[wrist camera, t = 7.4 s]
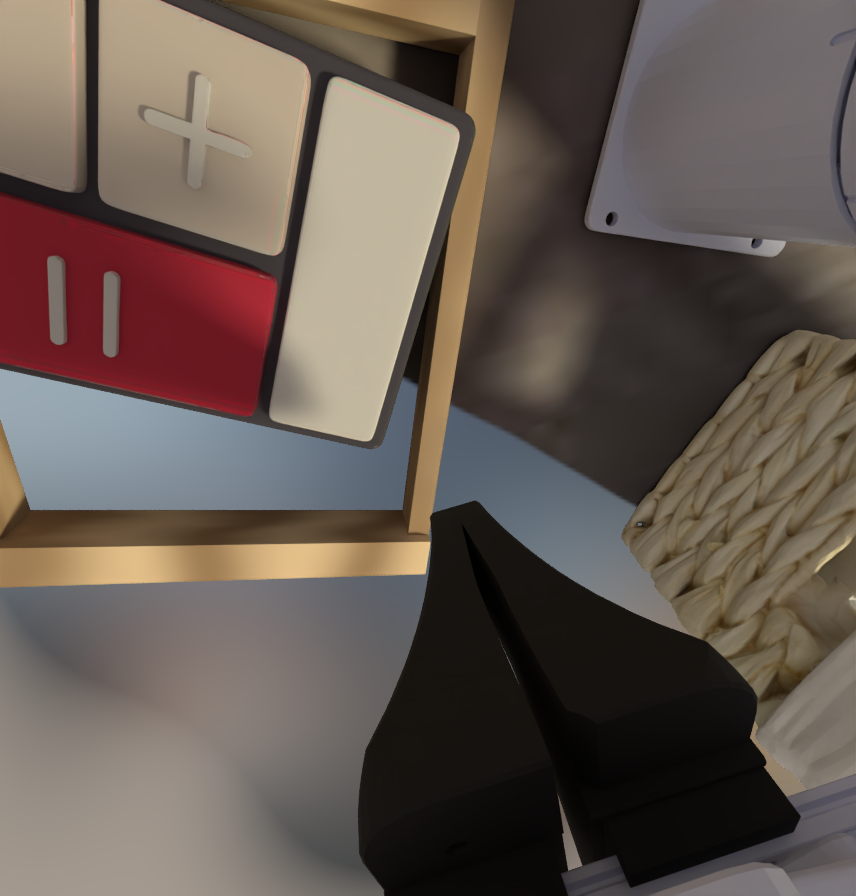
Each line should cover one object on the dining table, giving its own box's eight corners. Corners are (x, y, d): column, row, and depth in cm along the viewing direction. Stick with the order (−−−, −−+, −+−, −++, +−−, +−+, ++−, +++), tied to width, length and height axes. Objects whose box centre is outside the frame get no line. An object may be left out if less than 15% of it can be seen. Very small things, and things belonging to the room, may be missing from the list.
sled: (494, 22, 15) (522, -10, 12) (417, 540, 24) (425, 573, 22) (-244, -162, 11) (-394, -255, 8) (16, 546, 20) (-22, 588, 18)
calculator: (-263, -219, 8) (489, 112, 12) (-65, -83, 12) (458, 135, 16) (-137, 353, 13) (381, 463, 16) (-23, 320, 16) (377, 416, 20)
